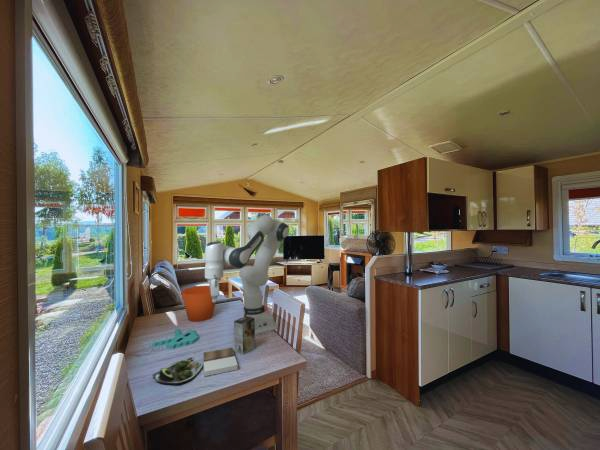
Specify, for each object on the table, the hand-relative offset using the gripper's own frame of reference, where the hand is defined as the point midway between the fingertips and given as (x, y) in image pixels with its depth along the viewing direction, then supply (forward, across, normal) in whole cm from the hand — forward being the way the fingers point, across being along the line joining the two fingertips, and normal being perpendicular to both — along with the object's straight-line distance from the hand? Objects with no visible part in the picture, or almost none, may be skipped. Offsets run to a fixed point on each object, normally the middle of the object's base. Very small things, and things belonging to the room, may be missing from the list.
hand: (214, 301), depth 127 cm
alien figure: (+28, +26, +17) cm, 42 cm away
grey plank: (+27, -13, -2) cm, 30 cm away
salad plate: (+28, -11, +16) cm, 34 cm away
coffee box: (+27, 0, -15) cm, 31 cm away
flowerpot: (+27, +60, +6) cm, 66 cm away
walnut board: (+27, -3, -2) cm, 27 cm away
